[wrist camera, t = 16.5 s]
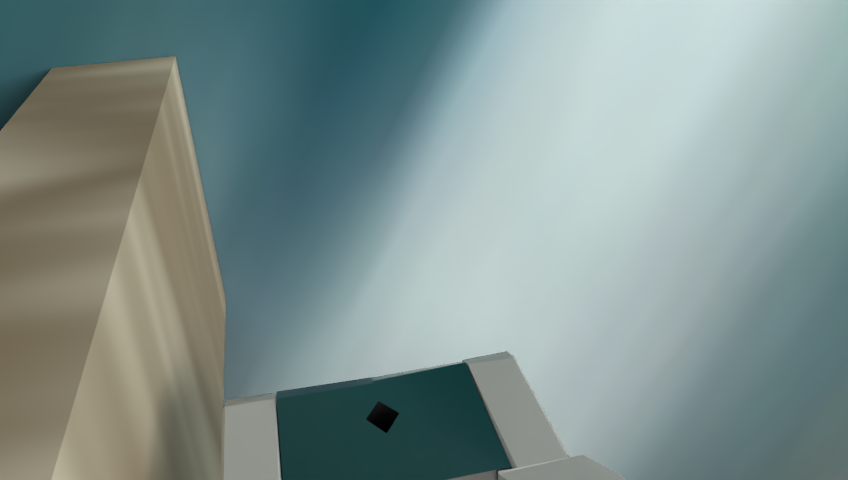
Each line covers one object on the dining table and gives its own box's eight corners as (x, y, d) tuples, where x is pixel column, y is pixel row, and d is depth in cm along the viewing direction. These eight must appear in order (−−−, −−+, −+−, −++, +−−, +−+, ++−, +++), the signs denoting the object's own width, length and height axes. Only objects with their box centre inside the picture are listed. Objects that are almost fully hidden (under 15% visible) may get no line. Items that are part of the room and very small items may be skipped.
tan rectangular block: (174, 56, 13) (42, 508, 4) (225, 300, 15) (208, 904, 7) (51, 68, 12) (-373, 586, 4) (123, 315, 15) (-37, 974, 6)
